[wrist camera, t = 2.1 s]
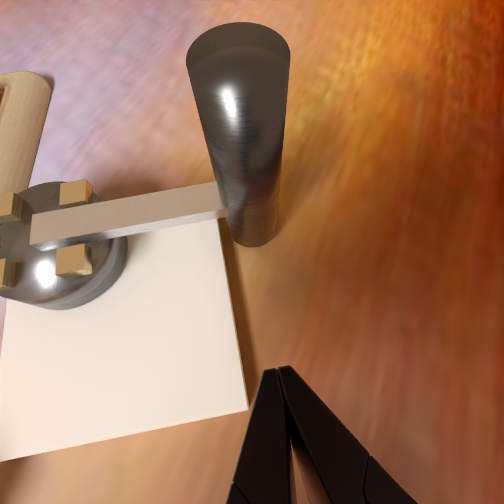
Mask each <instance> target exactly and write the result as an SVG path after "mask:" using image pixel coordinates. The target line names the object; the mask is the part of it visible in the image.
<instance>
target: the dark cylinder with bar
mask: <svg viewBox="0 0 504 504" xmlns="http://www.w3.org/2000/svg"><path fill="white" fill-rule="evenodd" d="M186 66H187V70H188V74H189V78H190V82H191V86H192V89H193V93H194V97H195V101H196V105H197V109H198V113H199V117H200V121H201V125H202V128H203V132H204V136H205V140H206V144H207V148H208V152H209V156H210V160H211V164H212V167H213V171H214V175H215V179H216V181H214V182H208V183H203V184H197V185H192V186H186V187H181V188H175V189H170V190H164V191H159V192H153V193H148V194H142V195H137V196H131V197H126V198H120V199H115V200H109V201H104V202H102V201H101V200H100V199H99V198H98V197H97V196H96V195H95V194H94V193H93V186H92V185H91V184H90V183H89V182H88V181H87V180H86V179H83V180H77V181H72V182H48V183H43V184H39V185H36V186H33V187H30V188H28V189H26V190H23V191H22V192H20V193H18V194H16V193H15V192H10V193H5V194H0V296H2V297H5V298H8V299H11V300H15V301H19V302H22V303H26V304H29V305H33V306H37V307H40V308H44V309H48V310H68V309H73V308H77V307H80V306H82V305H85V304H87V303H89V302H91V301H93V300H94V299H96V298H97V297H99V296H100V295H101V294H102V293H104V292H105V291H106V290H107V289H108V288H109V287H110V286H111V285H112V284H113V282H114V281H115V280H116V279H117V277H118V275H119V274H120V272H121V270H122V268H123V266H124V263H125V260H126V257H127V251H128V240H127V235H131V234H137V233H142V232H147V231H153V230H158V229H164V228H169V227H174V226H180V225H185V224H190V223H196V222H201V221H207V220H212V219H217V218H223V217H225V218H226V222H227V226H228V230H229V233H230V235H231V237H232V238H233V240H234V241H235V242H237V243H238V244H240V245H242V246H245V247H259V246H262V245H264V244H266V243H267V242H268V241H269V240H271V238H272V237H273V235H274V233H275V231H276V223H277V211H278V199H279V187H280V175H281V163H282V151H283V139H284V127H285V115H286V104H287V92H288V80H289V68H290V50H289V47H288V44H287V43H286V41H285V40H284V38H283V37H282V36H281V35H280V34H278V33H277V32H276V31H274V30H272V29H270V28H268V27H266V26H263V25H260V24H255V23H248V22H235V23H228V24H223V25H220V26H217V27H214V28H212V29H210V30H208V31H206V32H205V33H203V34H202V35H200V36H199V37H198V38H197V39H196V40H195V41H194V42H193V43H192V45H191V46H190V48H189V50H188V53H187V56H186Z"/></svg>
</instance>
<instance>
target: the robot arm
mask: <svg viewBox="0 0 504 504" xmlns="http://www.w3.org/2000/svg"><path fill="white" fill-rule="evenodd" d="M290 440H291V441H290ZM291 444H292V448H293V452H294V455H295V458H296V461H297V465H298V468H299V471H300V474H301V477H302V480H303V483H304V486H305V489H306V492H307V495H308V499H309V502H310V504H418V503H417V502H416V501H415V500H414V499H413V498H412V497H410V496H409V495H408V494H407V493H406V492H405V491H404V490H403V489H402V488H401V487H400V486H399V485H398V484H397V483H396V482H395V480H394V479H393V478H392V477H391V476H390V475H389V474H388V473H387V472H386V471H385V470H384V469H383V468H382V467H381V466H380V464H379V463H378V462H377V461H376V460H375V459H374V458H373V457H372V456H370V454H369V452H368V451H367V450H366V449H365V448H364V447H363V446H362V445H361V443H360V442H359V441H358V440H357V439H356V438H355V437H354V436H353V435H352V433H351V432H350V431H349V430H348V429H347V428H346V427H345V426H344V425H343V423H342V422H341V421H340V420H339V419H338V418H337V417H336V416H335V415H334V413H333V412H332V411H331V410H330V409H329V408H328V407H327V406H326V405H325V403H324V402H323V401H322V400H321V399H320V398H319V397H318V396H317V395H316V393H315V392H314V391H313V390H312V389H311V388H310V387H309V386H308V385H307V383H306V382H305V381H304V380H303V379H302V378H301V377H300V376H299V374H298V373H297V372H296V371H295V370H294V369H293V368H292V367H291V366H289V365H288V366H283V367H278V369H276V368H272V369H267V370H264V371H263V373H262V376H261V380H260V383H259V387H258V390H257V394H256V398H255V401H254V405H253V408H252V412H251V416H250V419H249V423H248V426H247V430H246V433H245V437H244V441H243V444H242V448H241V451H240V455H239V459H238V462H237V466H236V469H235V473H234V476H233V480H232V482H233V483H232V484H231V487H230V490H229V494H228V497H227V501H226V504H297V498H296V487H295V477H294V466H293V456H292V448H291Z"/></svg>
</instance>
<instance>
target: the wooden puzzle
mask: <svg viewBox="0 0 504 504" xmlns="http://www.w3.org/2000/svg"><path fill="white" fill-rule="evenodd" d="M51 93H52V90H51V87H50V85H49V84H48V82H47V81H46V80H45V79H44V78H43V77H41V76H40V75H38V74H36V73H34V72H30V71H17V72H11V73H5V74H0V194H5V193H10V192H15V193H16V194H18V193H20V192H22V191H23V190H26V189H27V188H28V184H29V180H30V176H31V173H32V169H33V165H34V161H35V157H36V153H37V149H38V145H39V141H40V137H41V133H42V129H43V125H44V121H45V117H46V113H47V109H48V105H49V101H50V97H51Z"/></svg>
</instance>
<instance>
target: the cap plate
mask: <svg viewBox="0 0 504 504" xmlns="http://www.w3.org/2000/svg"><path fill="white" fill-rule="evenodd" d="M127 240H128V251H127V257H126V260H125V263H124V266H123V268H122V270H121V272H120V274H119V275H118V277H117V279H116V280H115V281H114V282H113V284H112V285H111V286H110V287H109V288H108V289H107V290H106V291H105V292H104V293H102V294H101V295H100V296H99V297H97V298H96V299H94V300H93V301H91V302H89V303H87V304H85V305H82V306H80V307H77V308H73V309H68V310H48V309H44V308H40V307H37V306H33V305H29V304H26V303H22V302H19V301H15V300H11V299H8V298H7V306H6V315H5V324H4V332H3V341H2V350H1V359H0V462H1V461H6V460H11V459H15V458H20V457H25V456H30V455H35V454H39V453H44V452H49V451H54V450H59V449H63V448H68V447H73V446H78V445H83V444H87V443H92V442H97V441H102V440H107V439H111V438H116V437H121V436H126V435H131V434H135V433H140V432H145V431H150V430H155V429H159V428H164V427H169V426H174V425H179V424H183V423H188V422H193V421H198V420H203V419H207V418H212V417H217V416H222V415H227V414H231V413H236V412H241V411H246V410H248V409H249V402H248V396H247V390H246V384H245V378H244V372H243V366H242V360H241V354H240V348H239V342H238V336H237V330H236V324H235V318H234V312H233V306H232V300H231V294H230V288H229V282H228V276H227V270H226V264H225V258H224V252H223V246H222V240H221V234H220V228H219V222H218V218H217V219H212V220H207V221H201V222H196V223H190V224H185V225H180V226H174V227H169V228H164V229H158V230H153V231H147V232H142V233H137V234H131V235H127Z"/></svg>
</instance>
